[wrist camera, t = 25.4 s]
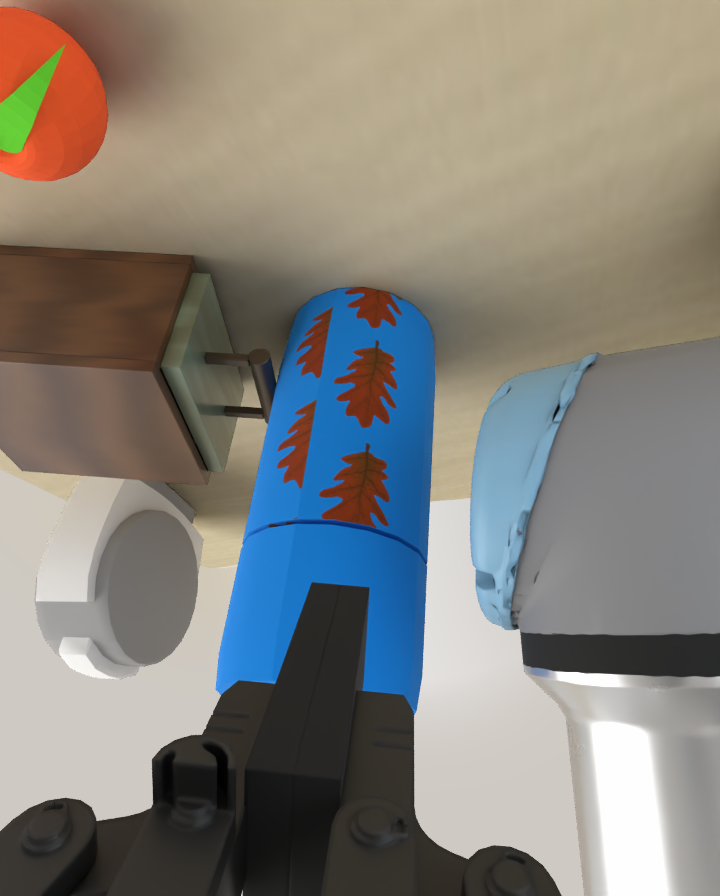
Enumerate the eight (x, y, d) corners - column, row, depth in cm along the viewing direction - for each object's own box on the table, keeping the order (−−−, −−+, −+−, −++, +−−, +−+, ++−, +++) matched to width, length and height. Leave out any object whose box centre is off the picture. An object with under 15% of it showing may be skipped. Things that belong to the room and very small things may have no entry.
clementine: (21, -85, 25) (-56, -4, 21) (165, 57, 29) (121, 145, 26) (-47, 47, 30) (-121, 132, 26) (85, 153, 34) (38, 238, 30)
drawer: (275, 277, 39) (252, 372, 35) (296, 393, 50) (280, 477, 46) (10, 262, 41) (-42, 353, 37) (85, 378, 51) (51, 459, 47)
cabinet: (193, 255, 40) (152, 371, 35) (233, 384, 51) (207, 485, 46) (-23, 244, 41) (-92, 355, 36) (65, 373, 52) (21, 471, 47)
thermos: (399, 400, 51) (373, 728, 38) (274, 361, 48) (199, 700, 35) (463, 316, 42) (457, 707, 29) (314, 263, 39) (234, 667, 26)
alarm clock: (72, 452, 64) (-8, 649, 54) (141, 447, 62) (73, 652, 51) (163, 525, 79) (114, 692, 68) (222, 523, 76) (181, 696, 66)
